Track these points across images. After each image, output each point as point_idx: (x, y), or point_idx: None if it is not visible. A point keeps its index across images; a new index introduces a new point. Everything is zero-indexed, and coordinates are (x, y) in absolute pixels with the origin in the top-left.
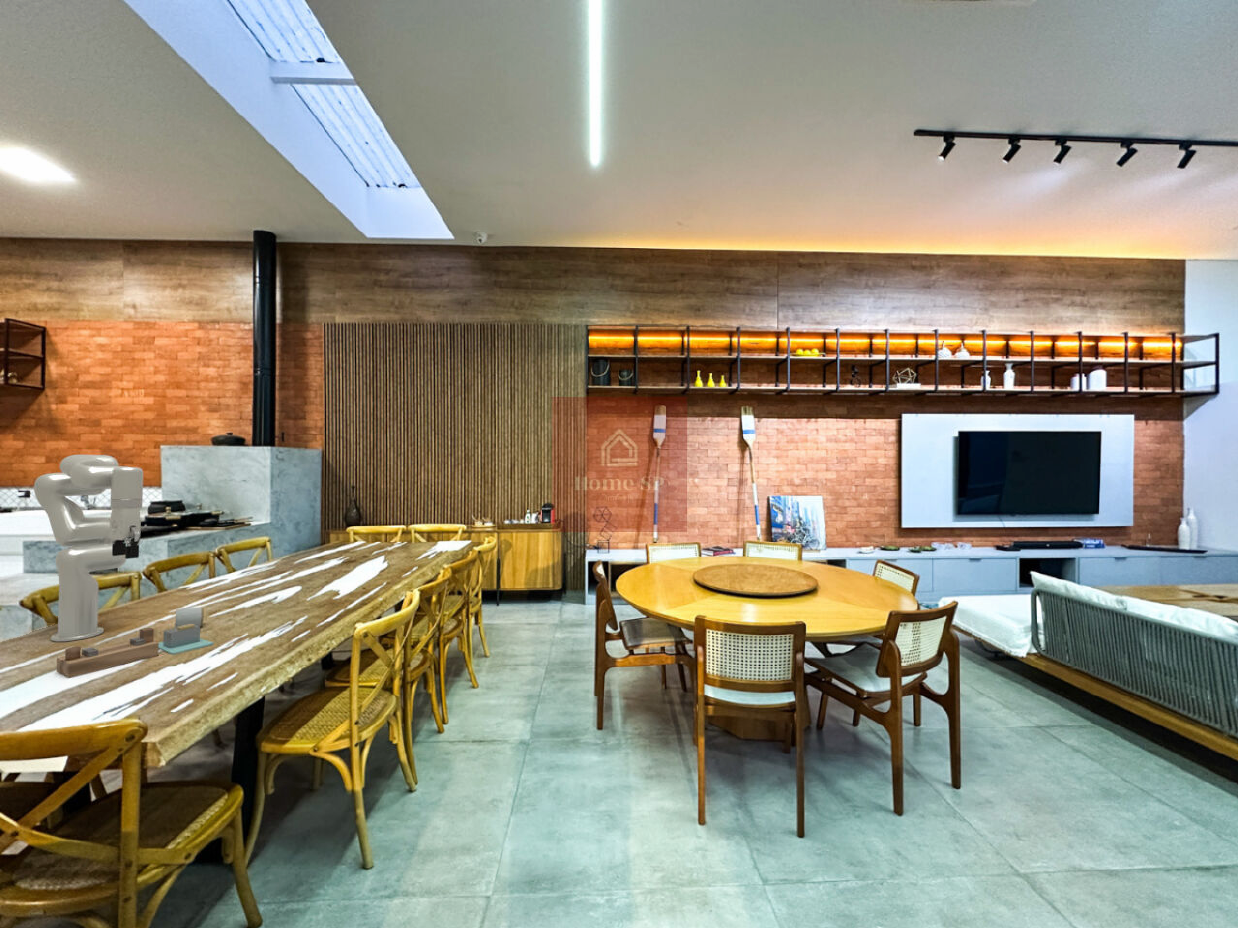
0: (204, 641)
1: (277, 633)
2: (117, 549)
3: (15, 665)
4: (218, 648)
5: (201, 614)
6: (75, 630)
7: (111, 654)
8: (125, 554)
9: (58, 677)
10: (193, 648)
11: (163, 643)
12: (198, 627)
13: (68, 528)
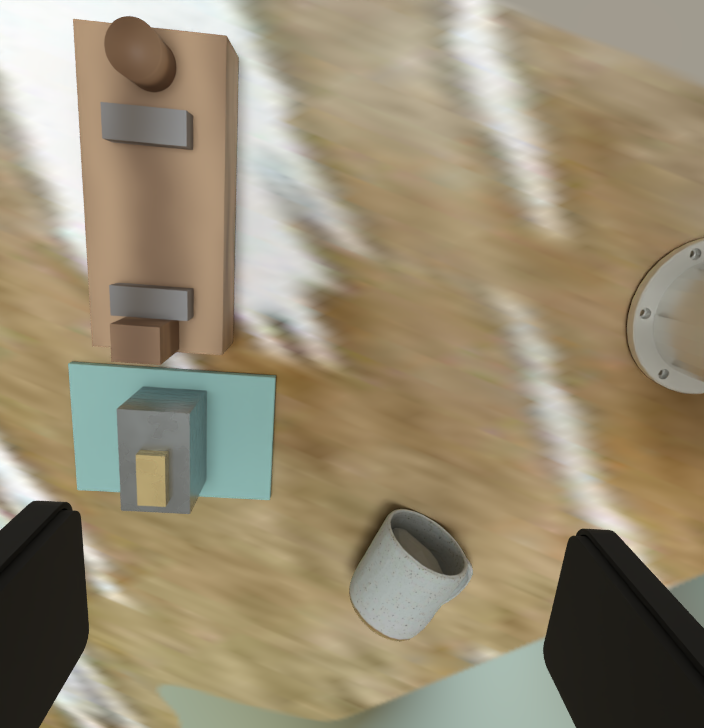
0: None
1: None
2: (619, 657)
3: (491, 18)
4: (12, 470)
5: (355, 606)
6: (683, 294)
7: (83, 178)
8: (16, 541)
9: None
10: (74, 426)
11: (203, 393)
12: (122, 503)
13: None
